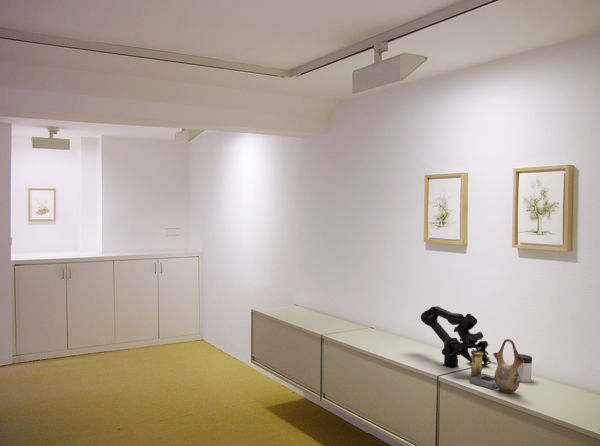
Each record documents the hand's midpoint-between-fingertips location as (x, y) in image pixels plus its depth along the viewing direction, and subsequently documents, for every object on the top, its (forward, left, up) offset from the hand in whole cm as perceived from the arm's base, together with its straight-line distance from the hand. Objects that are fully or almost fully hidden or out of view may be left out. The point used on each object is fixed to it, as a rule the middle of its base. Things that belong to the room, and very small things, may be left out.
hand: (478, 361), depth 269 cm
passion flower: (-12, +21, -9) cm, 26 cm away
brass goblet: (-1, 0, -9) cm, 9 cm away
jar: (+15, +17, -9) cm, 24 cm away
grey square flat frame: (+8, -5, -9) cm, 12 cm away
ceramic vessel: (+19, -8, -9) cm, 23 cm away
